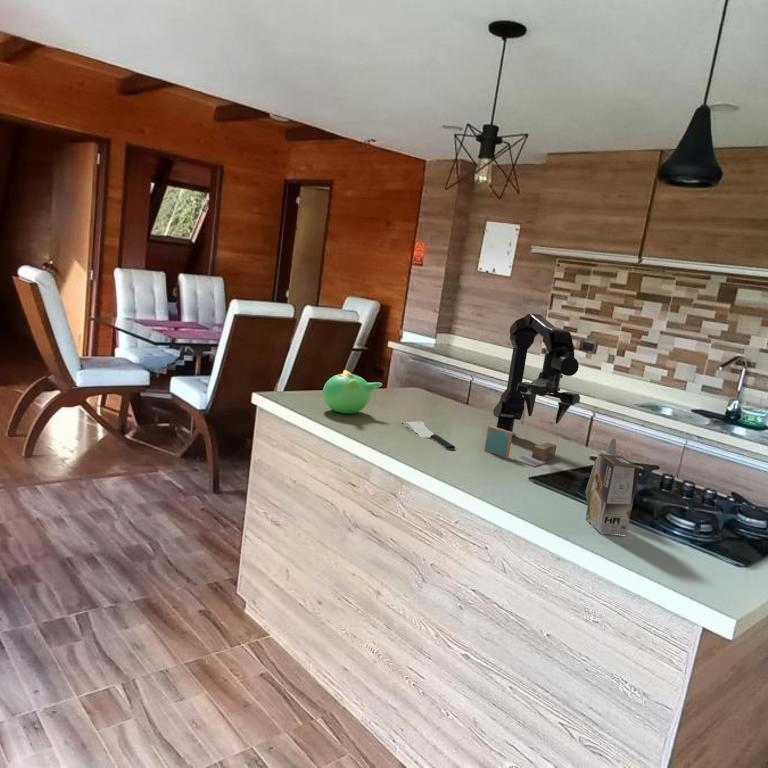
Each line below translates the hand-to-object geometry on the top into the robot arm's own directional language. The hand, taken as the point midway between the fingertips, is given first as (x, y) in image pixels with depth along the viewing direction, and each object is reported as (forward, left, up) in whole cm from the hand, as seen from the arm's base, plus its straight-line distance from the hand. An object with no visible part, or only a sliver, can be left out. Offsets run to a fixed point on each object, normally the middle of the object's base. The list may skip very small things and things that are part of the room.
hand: (543, 419), depth 196 cm
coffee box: (+40, +37, -13) cm, 56 cm away
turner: (+2, +1, -12) cm, 13 cm away
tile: (+10, -9, -8) cm, 15 cm away
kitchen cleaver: (+15, -33, -13) cm, 38 cm away
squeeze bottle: (+28, +31, -13) cm, 43 cm away
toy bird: (+19, -65, -13) cm, 69 cm away
